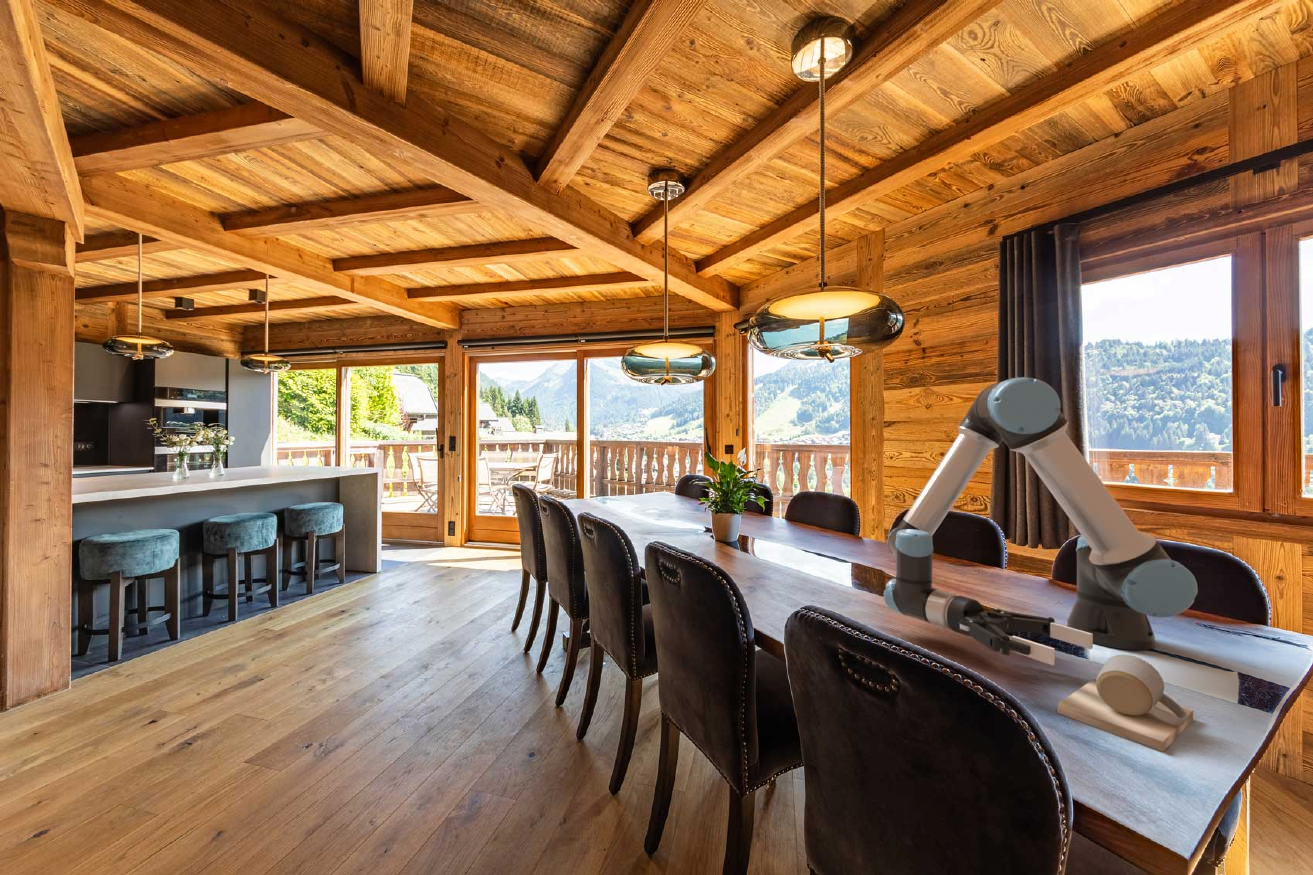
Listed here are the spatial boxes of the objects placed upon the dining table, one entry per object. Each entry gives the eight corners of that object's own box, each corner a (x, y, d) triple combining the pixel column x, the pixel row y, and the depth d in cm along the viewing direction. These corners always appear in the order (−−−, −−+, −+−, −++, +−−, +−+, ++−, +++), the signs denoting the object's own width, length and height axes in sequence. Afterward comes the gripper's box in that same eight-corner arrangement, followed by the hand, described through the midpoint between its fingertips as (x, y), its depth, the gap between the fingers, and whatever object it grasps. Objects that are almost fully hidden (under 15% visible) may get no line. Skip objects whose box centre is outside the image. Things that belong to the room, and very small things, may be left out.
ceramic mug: (1093, 707, 87) (1094, 660, 86) (1103, 691, 92) (1105, 647, 92) (1183, 736, 79) (1185, 685, 78) (1189, 717, 84) (1191, 669, 84)
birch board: (1093, 687, 97) (1093, 678, 97) (1193, 719, 86) (1193, 710, 86) (1057, 712, 88) (1057, 703, 88) (1162, 752, 77) (1163, 741, 77)
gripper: (989, 620, 118) (1106, 655, 99) (917, 641, 106) (1035, 686, 87) (989, 586, 118) (1106, 615, 99) (918, 604, 106) (1036, 641, 87)
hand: (1073, 648), depth 93 cm, fingers open, 13 cm apart
